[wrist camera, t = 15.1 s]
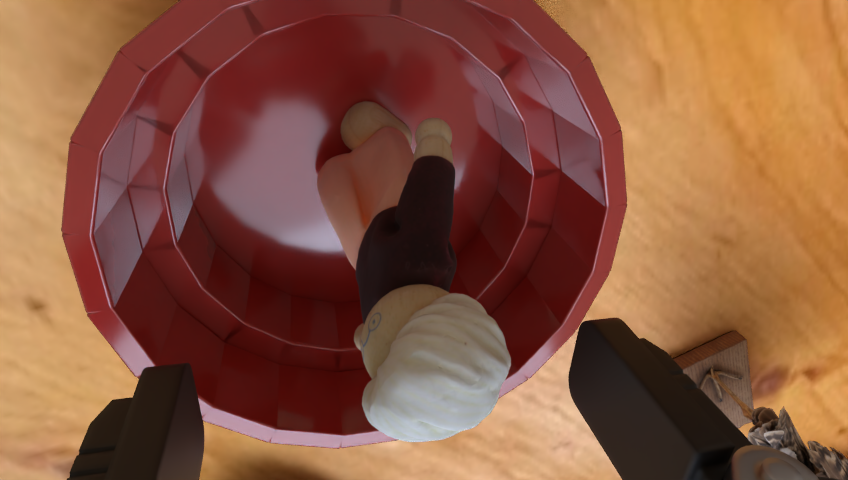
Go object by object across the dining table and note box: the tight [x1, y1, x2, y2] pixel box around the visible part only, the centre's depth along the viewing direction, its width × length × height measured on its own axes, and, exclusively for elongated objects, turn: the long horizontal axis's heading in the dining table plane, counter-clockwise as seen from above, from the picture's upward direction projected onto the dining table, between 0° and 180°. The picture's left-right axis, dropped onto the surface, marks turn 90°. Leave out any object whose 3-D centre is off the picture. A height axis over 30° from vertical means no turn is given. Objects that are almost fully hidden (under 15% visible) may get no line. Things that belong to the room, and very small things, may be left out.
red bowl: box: [61, 0, 627, 449], centre depth 18 cm, size 15×15×7 cm
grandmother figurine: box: [317, 101, 511, 442], centre depth 15 cm, size 8×4×13 cm, turn 174°
